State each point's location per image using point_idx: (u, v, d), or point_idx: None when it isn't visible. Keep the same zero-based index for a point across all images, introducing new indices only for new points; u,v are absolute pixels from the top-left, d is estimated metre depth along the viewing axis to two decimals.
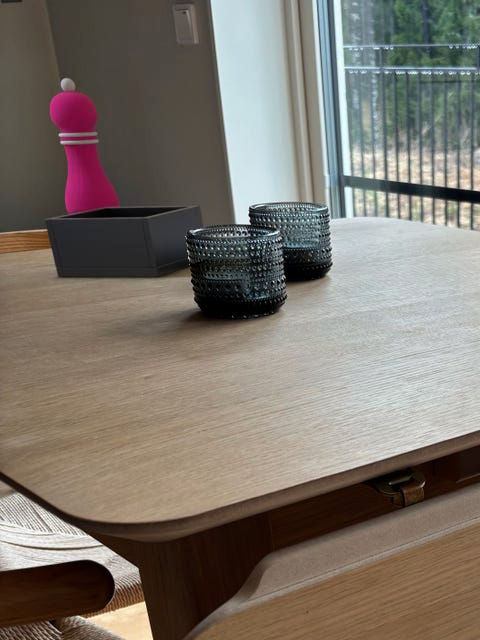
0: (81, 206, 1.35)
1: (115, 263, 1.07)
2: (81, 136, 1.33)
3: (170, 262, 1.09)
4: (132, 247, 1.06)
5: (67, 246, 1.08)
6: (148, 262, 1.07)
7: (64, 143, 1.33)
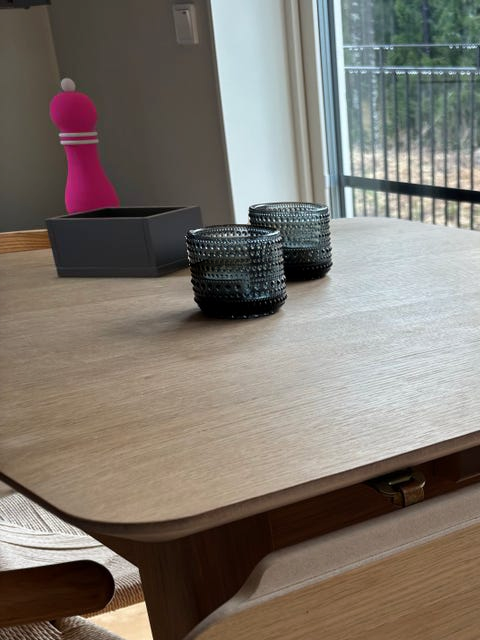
0: (81, 206, 1.35)
1: (115, 263, 1.07)
2: (81, 136, 1.33)
3: (170, 262, 1.09)
4: (132, 247, 1.06)
5: (67, 246, 1.08)
6: (148, 262, 1.07)
7: (64, 143, 1.33)
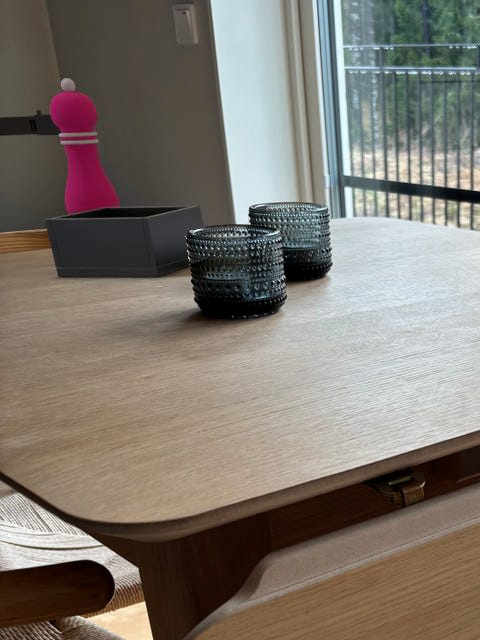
0: (81, 206, 1.35)
1: (115, 263, 1.07)
2: (81, 136, 1.33)
3: (170, 262, 1.09)
4: (132, 247, 1.06)
5: (67, 246, 1.08)
6: (148, 262, 1.07)
7: (64, 143, 1.33)
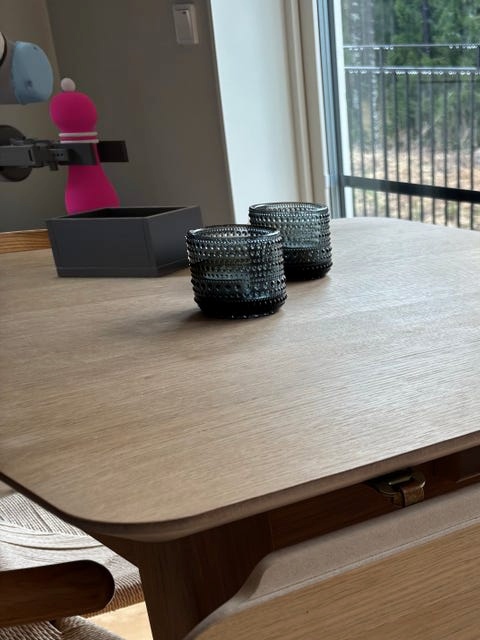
0: (81, 206, 1.35)
1: (115, 263, 1.07)
2: (81, 136, 1.33)
3: (170, 262, 1.09)
4: (132, 247, 1.06)
5: (67, 246, 1.08)
6: (148, 262, 1.07)
7: None
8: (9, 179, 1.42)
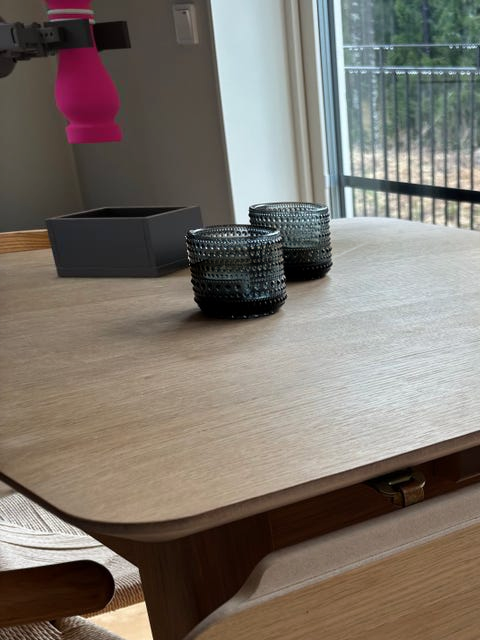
0: (74, 99, 1.14)
1: (115, 263, 1.07)
2: (74, 13, 1.11)
3: (170, 262, 1.09)
4: (132, 247, 1.06)
5: (67, 246, 1.08)
6: (148, 262, 1.07)
7: None
8: None
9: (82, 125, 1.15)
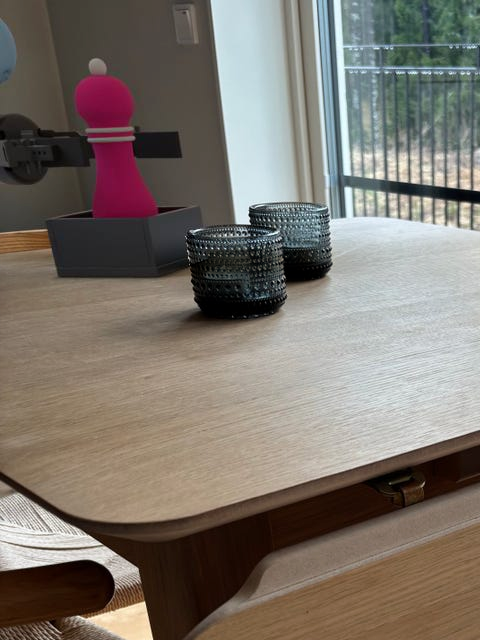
0: None
1: (115, 263, 1.07)
2: (114, 131, 1.05)
3: (170, 262, 1.09)
4: (132, 247, 1.06)
5: (67, 246, 1.08)
6: (148, 262, 1.07)
7: (92, 141, 1.05)
8: (20, 181, 1.14)
9: None
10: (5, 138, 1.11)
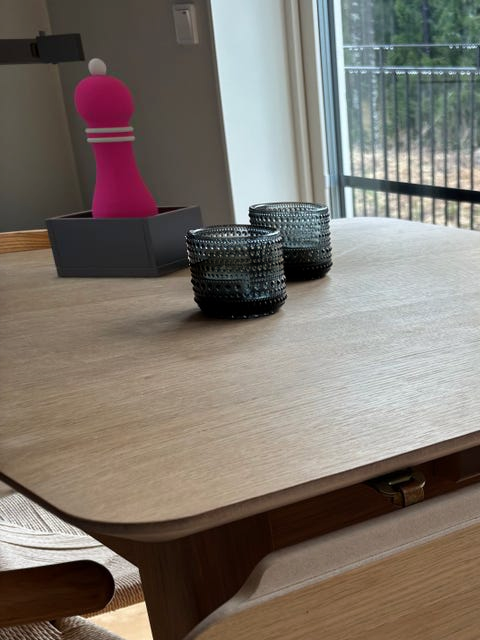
0: None
1: (115, 263, 1.07)
2: (114, 131, 1.05)
3: (170, 262, 1.09)
4: (132, 247, 1.06)
5: (67, 246, 1.08)
6: (148, 262, 1.07)
7: (92, 141, 1.05)
8: None
9: None
10: None
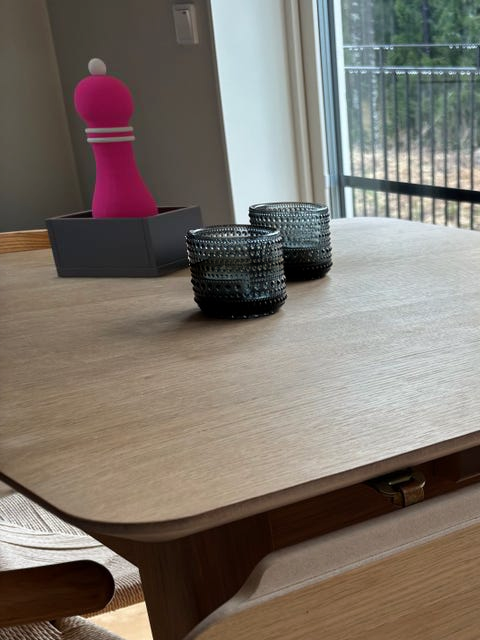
0: None
1: (115, 263, 1.07)
2: (114, 131, 1.05)
3: (170, 262, 1.09)
4: (132, 247, 1.06)
5: (67, 246, 1.08)
6: (148, 262, 1.07)
7: (92, 141, 1.05)
8: None
9: None
10: None
